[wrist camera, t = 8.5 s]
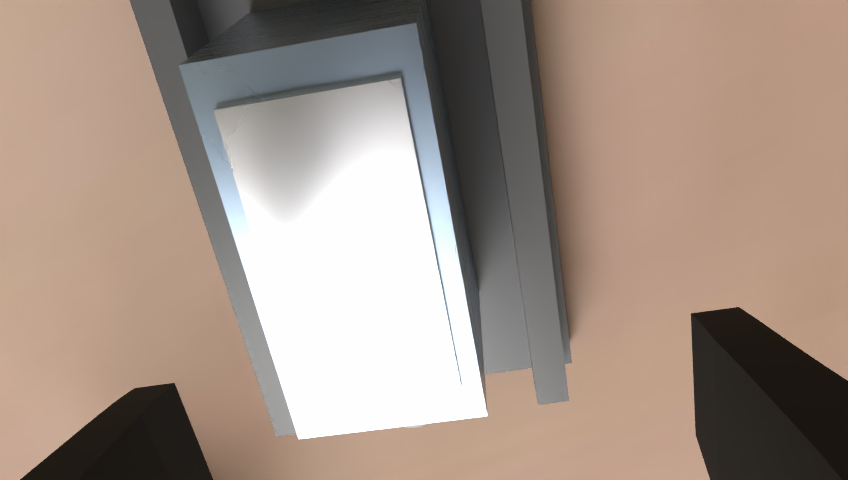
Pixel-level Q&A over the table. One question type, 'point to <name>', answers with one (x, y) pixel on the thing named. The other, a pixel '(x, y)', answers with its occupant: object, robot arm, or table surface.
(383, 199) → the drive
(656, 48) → the table surface
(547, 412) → the table surface
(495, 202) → the tray
